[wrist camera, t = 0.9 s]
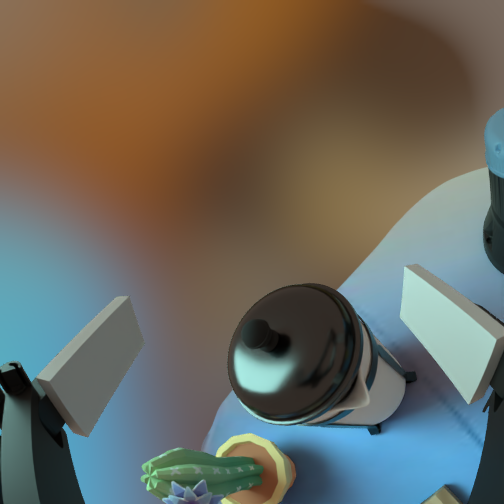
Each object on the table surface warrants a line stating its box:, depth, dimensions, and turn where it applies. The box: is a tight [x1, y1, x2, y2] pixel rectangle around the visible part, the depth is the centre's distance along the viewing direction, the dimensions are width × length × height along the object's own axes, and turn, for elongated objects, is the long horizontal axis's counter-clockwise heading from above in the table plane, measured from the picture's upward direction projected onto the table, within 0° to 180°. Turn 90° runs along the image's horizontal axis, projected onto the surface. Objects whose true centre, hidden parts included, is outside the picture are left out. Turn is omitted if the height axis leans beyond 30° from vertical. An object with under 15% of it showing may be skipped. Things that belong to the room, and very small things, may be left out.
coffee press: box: [227, 283, 417, 435], centre depth 28 cm, size 17×16×30 cm
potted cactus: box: [141, 433, 296, 504], centre depth 28 cm, size 15×15×25 cm
